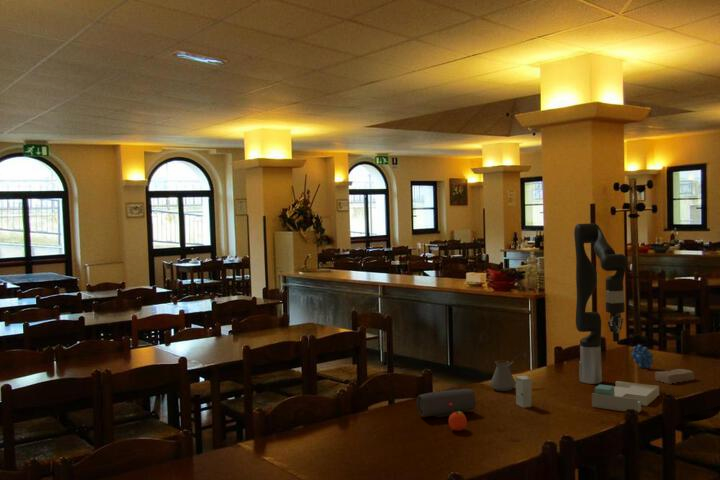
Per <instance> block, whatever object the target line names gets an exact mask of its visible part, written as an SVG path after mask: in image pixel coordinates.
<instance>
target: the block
mask: <svg viewBox="0 0 720 480" xmlns="http://www.w3.org/2000/svg"><path fill="white" fill-rule="evenodd" d="M594 393H596V394H604V395H612V396H615V394H614V385H608V384H601V383H598V384H597V385H596V386H595V387H594Z"/></svg>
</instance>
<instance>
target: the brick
mask: <svg viewBox="0 0 720 480" xmlns="http://www.w3.org/2000/svg"><path fill="white" fill-rule="evenodd" d="M654 374H655V375H654V377H655V380H656V381H657V382H659V381H660V383H663V382H664V384H667V385H671V384H672V383H674V384H678V383H677V382H680V383H684V382H683V381H685V382H690V381H694V380H695V374H694V371H692V370H691V369H685V368H684V369H683V368H678V369H677V368H676V369H671V370H665V371H662V370H661V371H655V373H654ZM689 380H690V381H689Z"/></svg>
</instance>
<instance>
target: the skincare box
mask: <svg viewBox="0 0 720 480" xmlns="http://www.w3.org/2000/svg"><path fill="white" fill-rule="evenodd" d="M515 382H516V384H515V404H516V405H517V406H518V407H521V408H525V409H526V408H531V407H532V378H531V377H529V376H527V375H518V376H515Z"/></svg>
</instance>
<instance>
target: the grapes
mask: <svg viewBox="0 0 720 480" xmlns="http://www.w3.org/2000/svg"><path fill="white" fill-rule="evenodd" d="M632 350H633V351H632V352H631V356H632V358H634V359H633V362H634V363H635V364H636V365H638V366H639V367H640V369H645V368H646V369H650V368H651V366H652V365H653V364H654V363H655V362H654V360H653V359H652V358H653V357H654V356H653V355H654V354H653V353H652V352H649V348H648V347H647V346H643V345H642V344H637V345H636V346H635V345H634V346H633V347H632Z"/></svg>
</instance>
